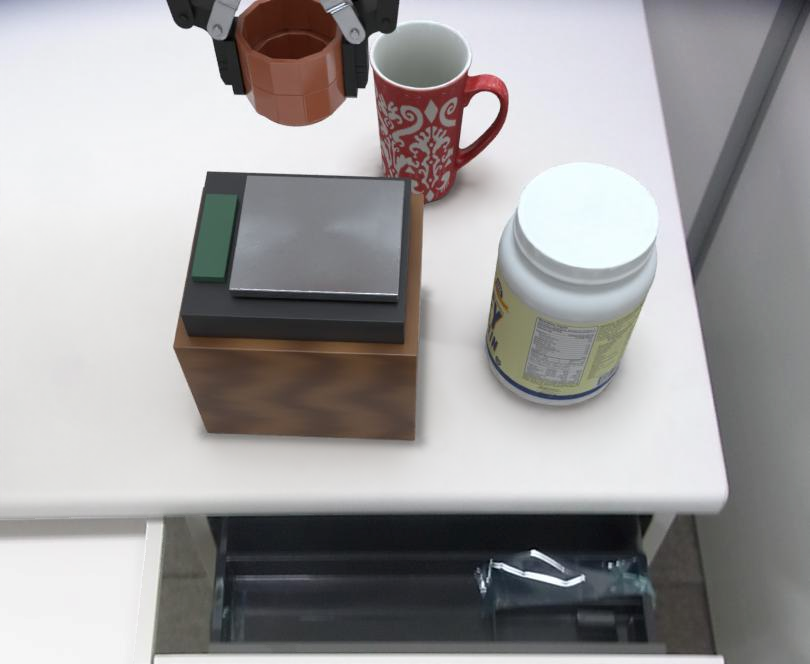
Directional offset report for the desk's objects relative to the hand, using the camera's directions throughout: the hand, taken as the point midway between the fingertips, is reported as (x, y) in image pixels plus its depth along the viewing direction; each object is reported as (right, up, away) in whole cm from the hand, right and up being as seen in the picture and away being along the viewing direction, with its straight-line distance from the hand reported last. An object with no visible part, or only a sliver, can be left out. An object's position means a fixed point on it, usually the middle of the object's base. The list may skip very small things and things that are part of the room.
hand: (296, 86), depth 52 cm
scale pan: (0, -6, +10) cm, 12 cm away
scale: (-1, -7, +13) cm, 15 cm away
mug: (+10, +8, +33) cm, 35 cm away
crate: (-1, -12, +24) cm, 27 cm away
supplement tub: (+20, -11, +24) cm, 33 cm away
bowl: (0, 0, +1) cm, 1 cm away
